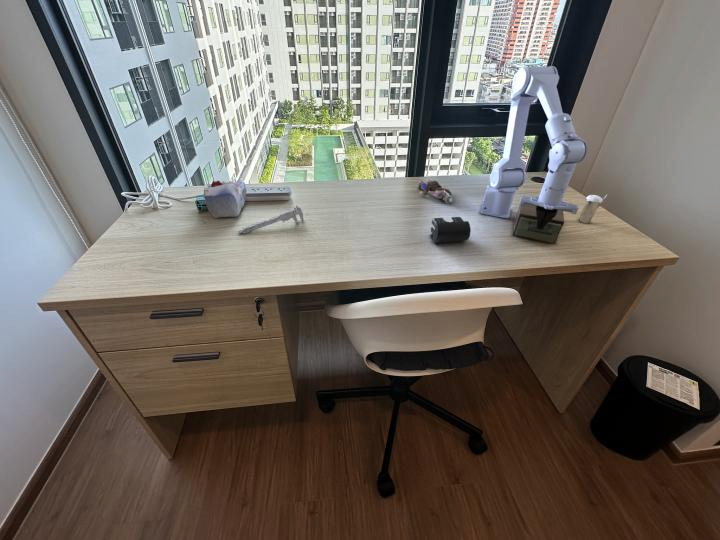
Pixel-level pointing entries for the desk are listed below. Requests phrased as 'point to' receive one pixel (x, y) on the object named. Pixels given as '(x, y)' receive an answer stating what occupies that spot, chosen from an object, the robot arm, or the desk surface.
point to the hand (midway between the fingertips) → (538, 230)
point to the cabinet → (531, 213)
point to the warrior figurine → (435, 190)
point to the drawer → (537, 230)
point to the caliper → (276, 219)
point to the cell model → (225, 198)
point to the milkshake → (590, 208)
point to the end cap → (450, 230)
